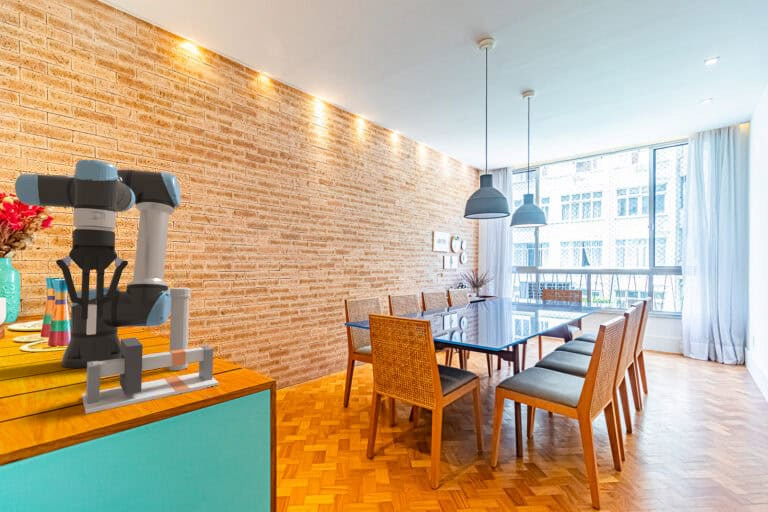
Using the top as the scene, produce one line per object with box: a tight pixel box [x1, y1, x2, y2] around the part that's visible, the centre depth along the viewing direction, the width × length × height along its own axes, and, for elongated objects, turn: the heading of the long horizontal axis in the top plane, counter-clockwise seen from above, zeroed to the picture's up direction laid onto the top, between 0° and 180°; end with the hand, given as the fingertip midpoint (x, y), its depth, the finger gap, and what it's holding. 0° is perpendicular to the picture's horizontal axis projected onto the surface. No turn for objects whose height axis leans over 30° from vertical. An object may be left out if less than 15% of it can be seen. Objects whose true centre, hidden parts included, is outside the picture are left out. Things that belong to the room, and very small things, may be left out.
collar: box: [119, 337, 144, 395], centre depth 86 cm, size 10×3×11 cm, turn 43°
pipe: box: [167, 268, 191, 372], centre depth 108 cm, size 6×6×30 cm
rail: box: [81, 345, 220, 415], centre depth 89 cm, size 12×27×9 cm, turn 133°
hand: (91, 333), depth 81 cm, fingers closed
